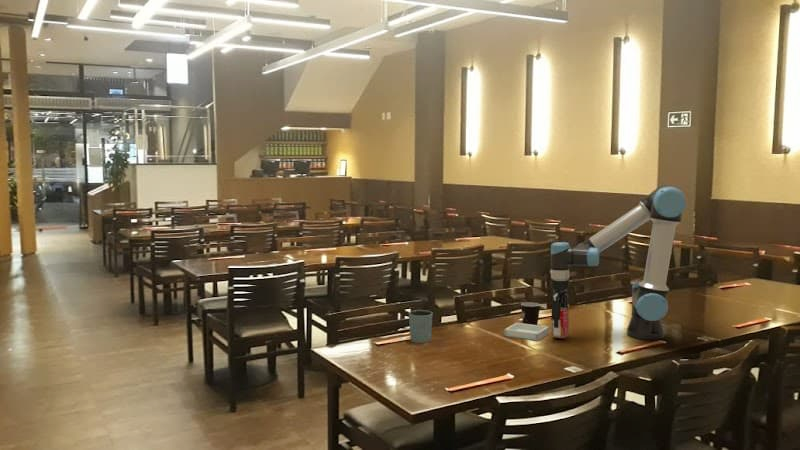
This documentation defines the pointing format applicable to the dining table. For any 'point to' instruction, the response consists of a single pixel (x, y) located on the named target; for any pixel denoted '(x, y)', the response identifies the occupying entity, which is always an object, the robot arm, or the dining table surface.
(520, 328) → the tray
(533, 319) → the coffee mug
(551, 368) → the dining table surface
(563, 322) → the soda can
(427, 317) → the blue-grey cup
